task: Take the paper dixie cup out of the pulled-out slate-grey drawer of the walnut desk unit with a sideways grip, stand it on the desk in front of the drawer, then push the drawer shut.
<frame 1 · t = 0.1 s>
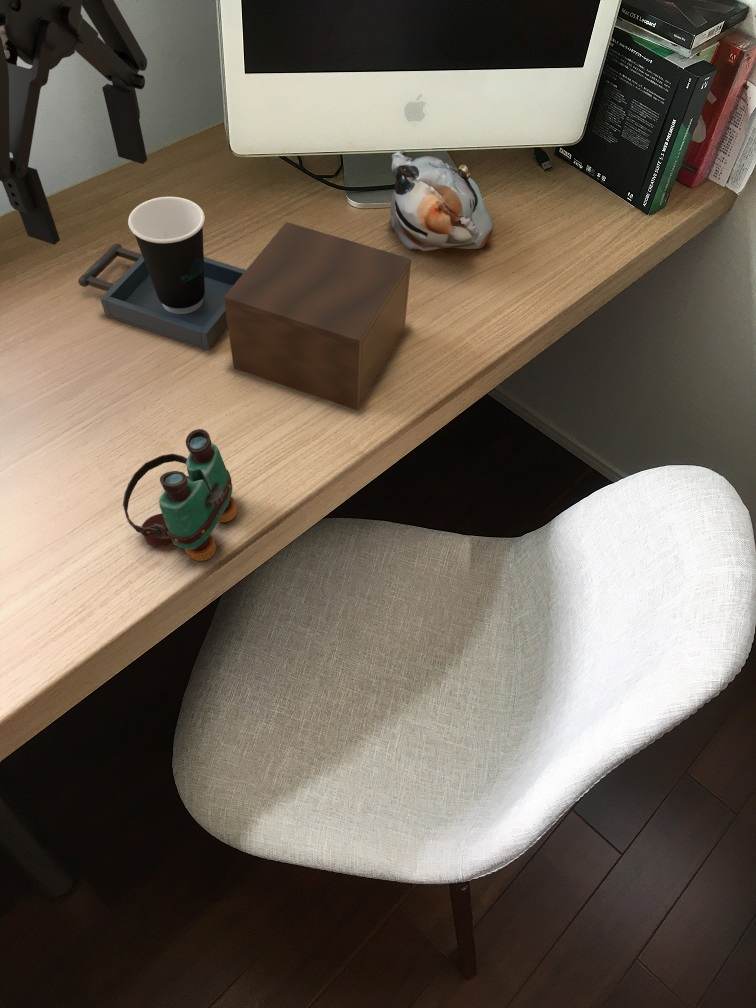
hand: (90, 196, 71), 20 cm above the table, tool pointing down, fingers open, 13 cm apart
drawer: (164, 288, 91), point 1 cm above the table, slide at 17.3 cm, touching dixie cup
drawer unit: (322, 348, 89), on the table
dixie cup: (182, 301, 92), resting on drawer
lucky cat figurine: (438, 239, 102), on the table
binoculars: (182, 522, 74), on the table
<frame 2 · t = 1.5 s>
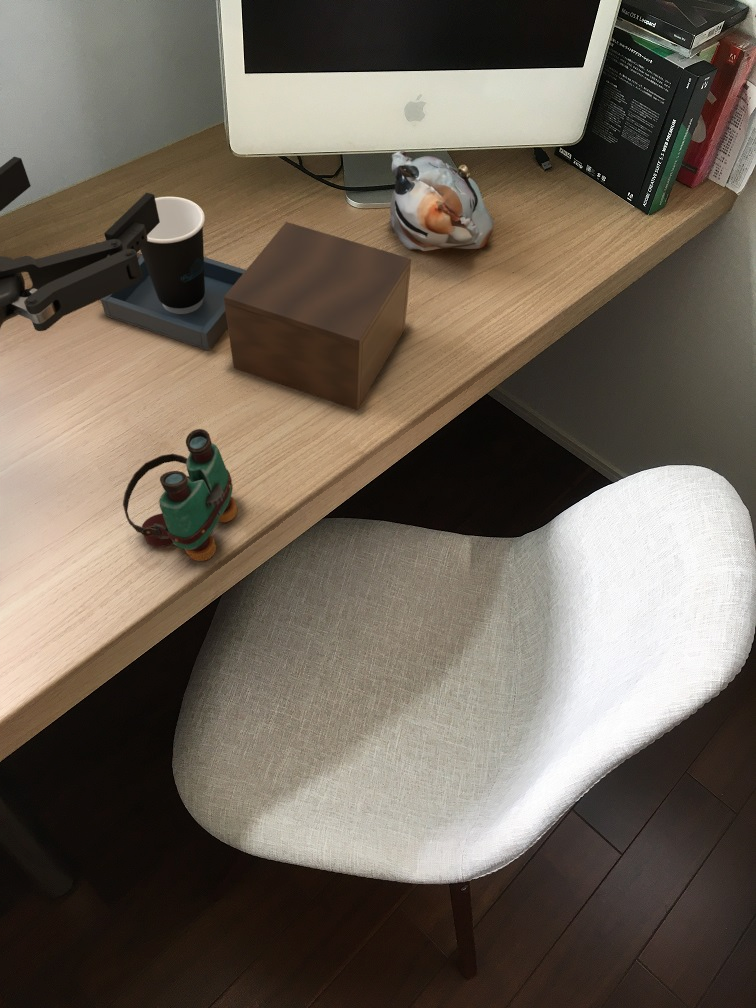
hand: (87, 188, 70), 20 cm above the table, tool horizontal, fingers open, 13 cm apart
nothing on the table moved.
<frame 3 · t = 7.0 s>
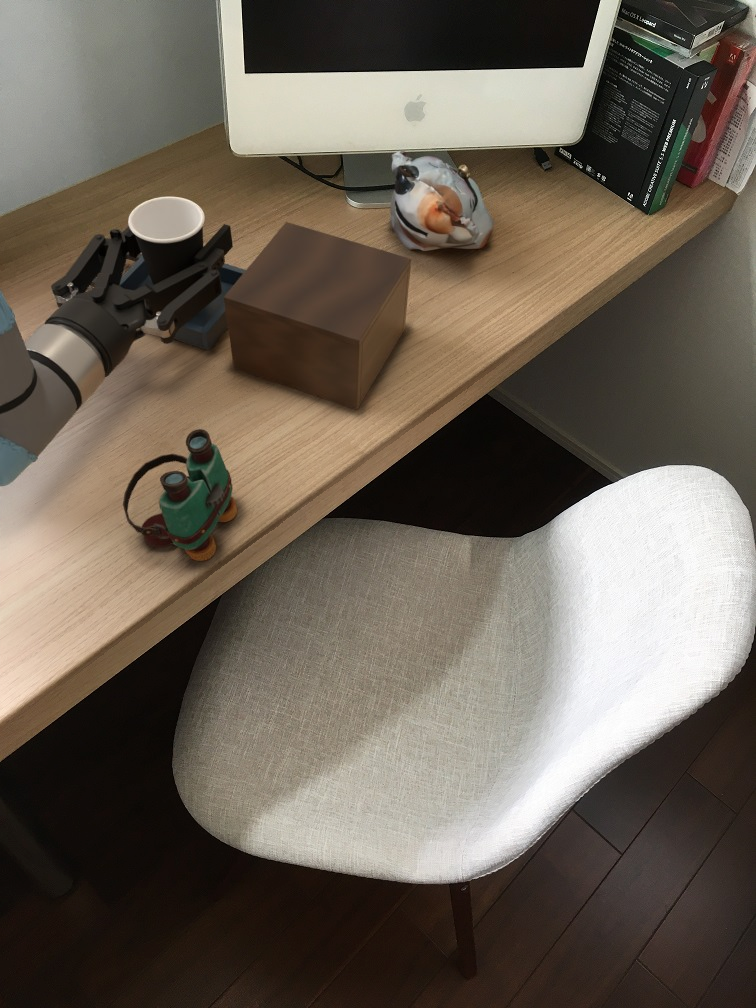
hand: (194, 225, 89), 7 cm above the table, tool horizontal, fingers closed on dixie cup, 8 cm apart
dixie cup: (182, 301, 92), resting on drawer, touching gripper
everything else where it was.
when the fingers open (7 cm above the table, at t = 14.7 s): dixie cup stays where it is, on the table.
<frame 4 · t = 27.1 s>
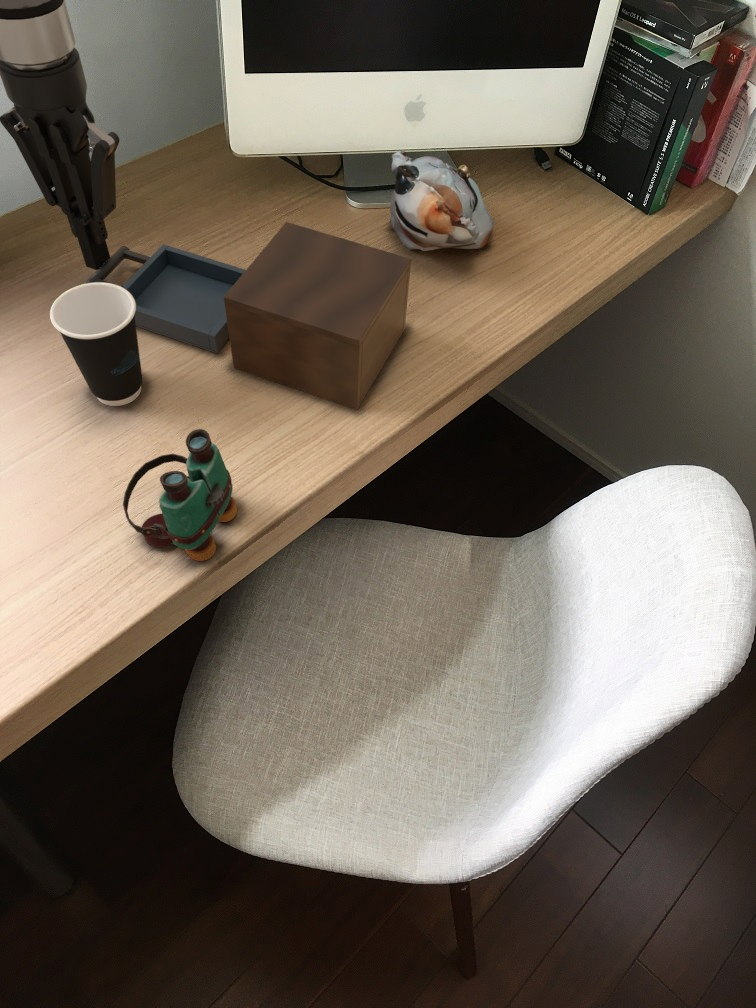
hand: (98, 261, 92), 2 cm above the table, tool pointing down, fingers closed
drawer: (171, 290, 91), point 1 cm above the table, slide at 16.3 cm, touching gripper
dixie cup: (118, 390, 84), on the table
everything else where it was.
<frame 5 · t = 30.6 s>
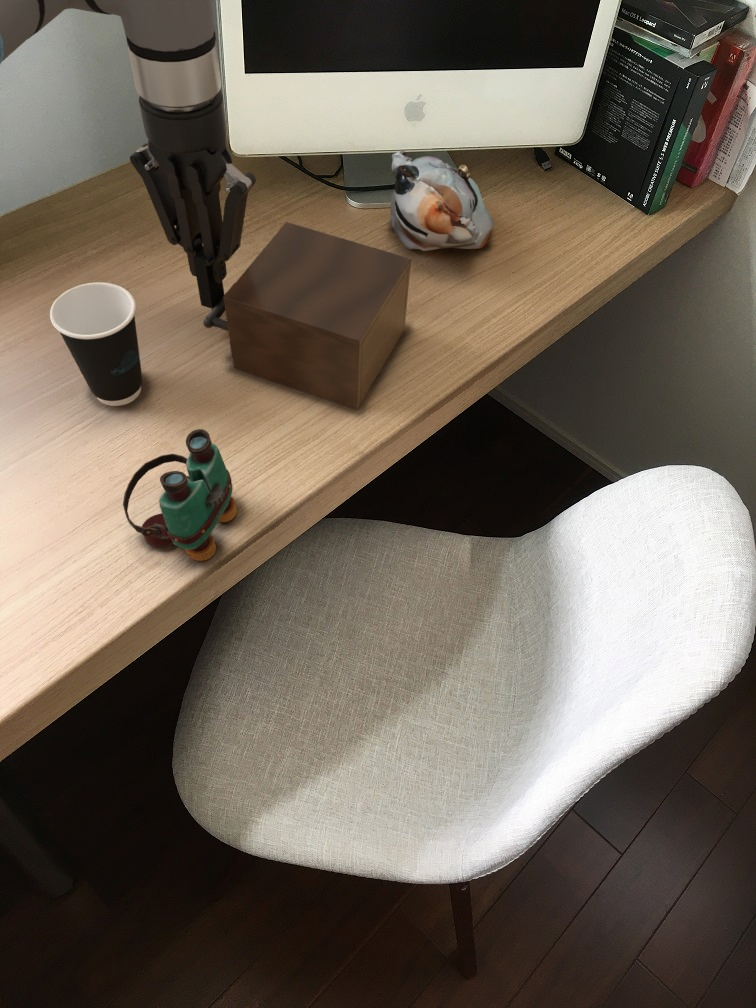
hand: (212, 300, 90), 2 cm above the table, tool pointing down, fingers closed
drawer: (290, 329, 88), point 1 cm above the table, slide at 0.9 cm
everything else where it was.
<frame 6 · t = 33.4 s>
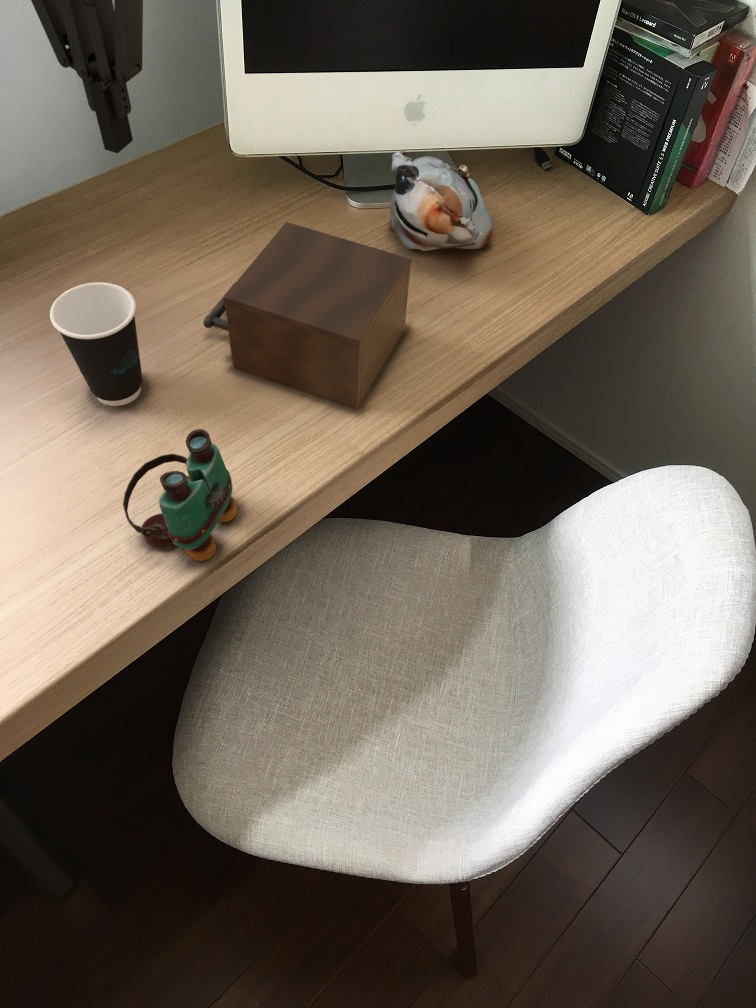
hand: (118, 144, 78), 18 cm above the table, tool pointing down, fingers closed
nothing on the table moved.
at the end: dixie cup inside the target area (0.0 cm from its centre), on the table; dixie cup tilted 0°; drawer slide at 0.9 cm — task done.
